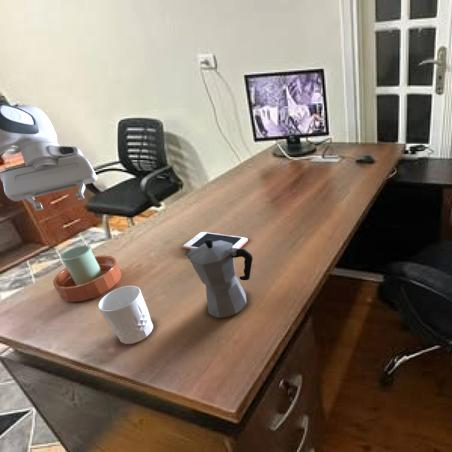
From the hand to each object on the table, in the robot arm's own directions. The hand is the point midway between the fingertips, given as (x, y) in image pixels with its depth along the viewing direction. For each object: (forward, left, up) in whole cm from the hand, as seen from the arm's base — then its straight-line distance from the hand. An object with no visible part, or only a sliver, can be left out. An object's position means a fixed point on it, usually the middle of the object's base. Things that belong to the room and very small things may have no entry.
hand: (60, 203), depth 93 cm
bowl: (-5, -11, -20) cm, 24 cm away
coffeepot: (+9, -51, -20) cm, 56 cm away
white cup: (-8, -39, -20) cm, 45 cm away
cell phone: (+25, -25, -20) cm, 41 cm away
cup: (-5, -11, -19) cm, 23 cm away
